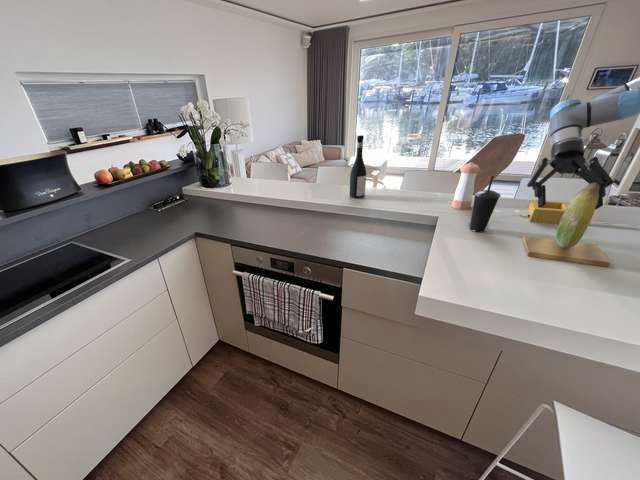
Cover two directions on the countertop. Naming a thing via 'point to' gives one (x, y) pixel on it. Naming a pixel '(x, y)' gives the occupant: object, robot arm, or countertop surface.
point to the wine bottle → (358, 173)
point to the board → (565, 251)
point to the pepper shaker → (465, 186)
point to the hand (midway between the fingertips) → (569, 206)
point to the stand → (547, 211)
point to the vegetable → (577, 216)
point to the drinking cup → (483, 207)
